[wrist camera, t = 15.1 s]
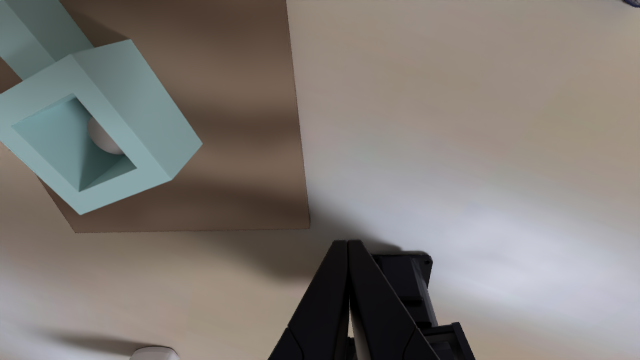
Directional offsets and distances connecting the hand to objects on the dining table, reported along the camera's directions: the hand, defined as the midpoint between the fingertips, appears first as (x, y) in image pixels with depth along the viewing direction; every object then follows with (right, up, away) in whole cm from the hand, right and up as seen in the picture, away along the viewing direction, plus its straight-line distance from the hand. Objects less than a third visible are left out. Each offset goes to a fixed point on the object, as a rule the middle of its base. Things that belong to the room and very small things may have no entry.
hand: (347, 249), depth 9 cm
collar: (-14, +8, +9) cm, 19 cm away
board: (-12, +7, +10) cm, 18 cm away
